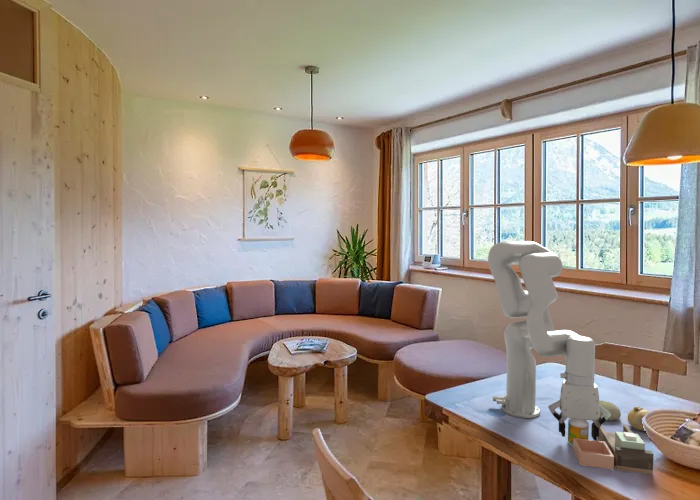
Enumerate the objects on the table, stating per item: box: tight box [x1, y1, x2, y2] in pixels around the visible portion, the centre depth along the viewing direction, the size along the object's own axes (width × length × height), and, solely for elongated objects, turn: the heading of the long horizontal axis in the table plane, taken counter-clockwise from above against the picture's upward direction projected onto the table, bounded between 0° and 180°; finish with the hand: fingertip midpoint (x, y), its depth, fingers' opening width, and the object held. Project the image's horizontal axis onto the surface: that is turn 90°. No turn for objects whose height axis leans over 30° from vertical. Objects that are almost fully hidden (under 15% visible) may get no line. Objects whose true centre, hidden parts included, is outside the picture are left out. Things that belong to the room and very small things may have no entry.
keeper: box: [614, 431, 646, 450], centre depth 118 cm, size 5×5×7 cm
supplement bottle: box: [567, 418, 590, 447], centre depth 128 cm, size 5×5×10 cm
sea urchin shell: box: [599, 400, 621, 421], centre depth 147 cm, size 9×8×8 cm
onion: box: [627, 406, 651, 432], centre depth 137 cm, size 8×8×7 cm
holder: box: [572, 438, 615, 471], centre depth 120 cm, size 8×8×4 cm
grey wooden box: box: [597, 424, 654, 476], centre depth 123 cm, size 20×8×6 cm, turn 164°
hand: (578, 436), depth 128 cm, fingers open, 7 cm apart
